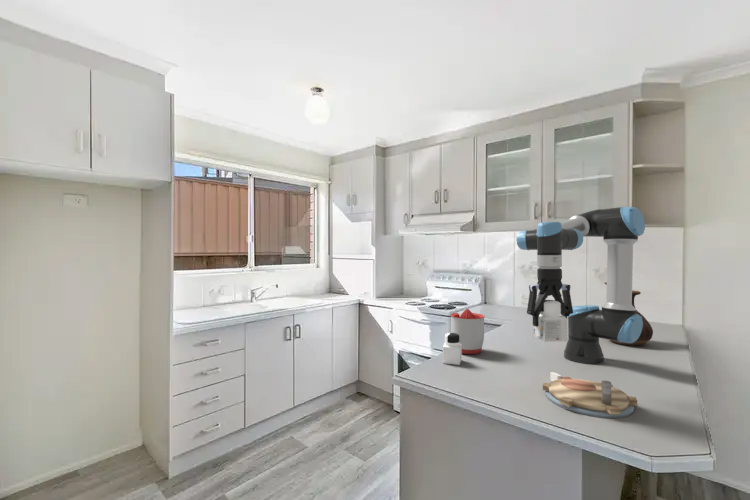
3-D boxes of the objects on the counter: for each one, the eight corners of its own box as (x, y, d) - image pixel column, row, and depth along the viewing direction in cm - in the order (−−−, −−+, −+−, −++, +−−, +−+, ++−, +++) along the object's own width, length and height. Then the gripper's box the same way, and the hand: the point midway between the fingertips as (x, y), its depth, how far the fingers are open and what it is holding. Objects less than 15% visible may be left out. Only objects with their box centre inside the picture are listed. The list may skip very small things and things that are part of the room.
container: (533, 336, 125) (532, 299, 125) (554, 335, 125) (554, 298, 125) (545, 342, 117) (544, 302, 117) (567, 341, 118) (567, 301, 118)
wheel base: (521, 382, 129) (521, 374, 129) (582, 378, 133) (582, 370, 133) (580, 420, 100) (580, 409, 100) (655, 414, 104) (655, 404, 104)
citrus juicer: (477, 345, 179) (477, 305, 179) (489, 356, 161) (489, 311, 161) (446, 346, 178) (446, 305, 178) (455, 356, 161) (454, 311, 161)
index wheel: (656, 413, 101) (656, 386, 101) (574, 414, 101) (574, 387, 101) (597, 380, 127) (597, 359, 127) (532, 381, 126) (531, 359, 126)
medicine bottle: (461, 360, 155) (461, 332, 155) (459, 365, 148) (459, 336, 148) (444, 358, 157) (444, 331, 157) (442, 363, 151) (442, 334, 151)
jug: (650, 340, 187) (650, 283, 187) (655, 350, 169) (655, 286, 169) (600, 335, 199) (600, 281, 199) (600, 344, 180) (600, 284, 180)
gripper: (526, 269, 116) (527, 339, 116) (585, 267, 119) (586, 336, 119) (514, 267, 124) (515, 334, 124) (570, 266, 126) (571, 331, 126)
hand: (550, 335), depth 121 cm, fingers closed on container, 8 cm apart
